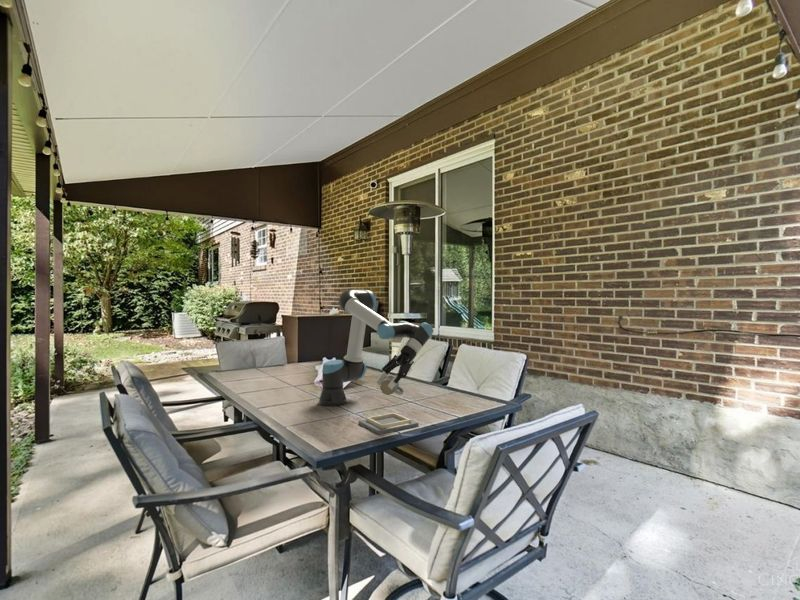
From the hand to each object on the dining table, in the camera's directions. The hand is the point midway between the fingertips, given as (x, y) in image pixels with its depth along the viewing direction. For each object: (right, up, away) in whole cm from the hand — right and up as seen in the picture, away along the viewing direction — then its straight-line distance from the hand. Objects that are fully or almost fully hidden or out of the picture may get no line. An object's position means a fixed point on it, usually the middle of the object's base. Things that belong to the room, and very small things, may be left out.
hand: (383, 385), depth 198 cm
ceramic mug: (+4, -4, +2) cm, 6 cm away
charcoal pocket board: (+2, -19, +2) cm, 19 cm away
